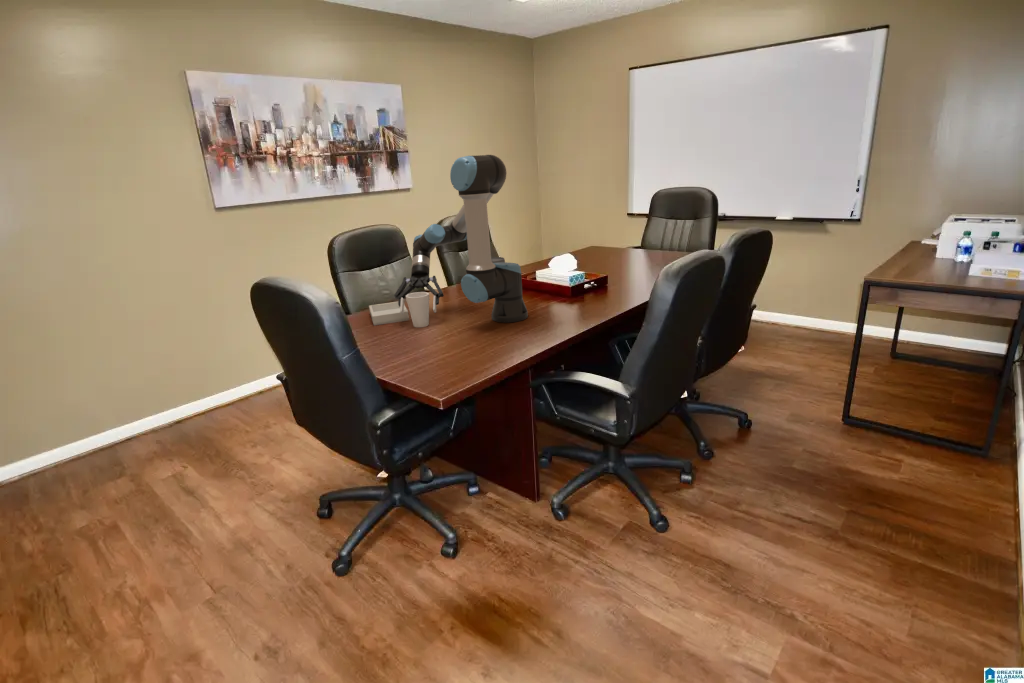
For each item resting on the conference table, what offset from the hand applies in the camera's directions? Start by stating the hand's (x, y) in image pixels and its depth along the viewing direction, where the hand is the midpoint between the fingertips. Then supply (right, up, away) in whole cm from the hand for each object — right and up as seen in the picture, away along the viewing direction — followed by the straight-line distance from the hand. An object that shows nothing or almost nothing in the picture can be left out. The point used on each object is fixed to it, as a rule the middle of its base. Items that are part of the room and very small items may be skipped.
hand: (418, 312), depth 216 cm
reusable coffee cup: (+30, +16, +58) cm, 67 cm away
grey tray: (-16, -1, +18) cm, 24 cm away
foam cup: (+1, -5, +4) cm, 6 cm away
